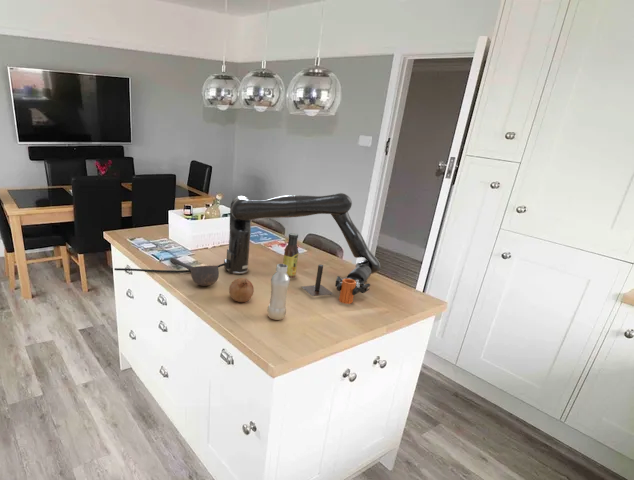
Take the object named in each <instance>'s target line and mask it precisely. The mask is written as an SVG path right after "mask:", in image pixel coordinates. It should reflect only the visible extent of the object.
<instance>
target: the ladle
mask: <svg viewBox="0 0 634 480" xmlns="http://www.w3.org/2000/svg"><path fill="white" fill-rule="evenodd" d="M169 261H170V262H171V263H173V264H174V265H176V266H180V267H182V268H185V269H186V270H190V271H191V272H190V274H191V278H192V281H193V282H194V283H195V284H196V285H198V286H200V287H206V286H211V285H214V284H215V283H217V281H218V279H219V276H220V275H219V274H220V272H219V268H218V265H219V264H218V265H214V264H213V265H198V266H193V265H192V264H191V265H190V264H187V263H185V262H183V261H181V260H180V259H177V258H175V257H170V258H169Z"/></svg>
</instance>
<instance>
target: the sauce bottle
mask: <svg viewBox="0 0 634 480" xmlns="http://www.w3.org/2000/svg"><path fill="white" fill-rule="evenodd" d="M298 238H299V234H298V233H296V232H289V233H288V242H287V245H286V246H285V248H284V254H283V261H282V264H285V265H287V272H286V273H287V274H288V276H289V278H290V279H293V278H295V277H296V275H297V268H298V260H299V254H300V253H299V252H300V251H299V248H298Z"/></svg>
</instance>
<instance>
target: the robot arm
mask: <svg viewBox="0 0 634 480" xmlns="http://www.w3.org/2000/svg"><path fill="white" fill-rule="evenodd" d="M352 206H353V202H352V199H351V197H350V196H349V195H348V194H346V193H343V192H338V193H333V194H328V195H305V194H304V195H302V194H292V195H281V196H276V197H273V198H269V199H265V200H253V199H249V198H248V197H247V196H244V195H238V196H236V197H234V198H233V199H232V200H231V202H230V208H229V235H228V236H229V237H228V248H227V249H226V258H225V259H224V260H223V263H221V264H218V269H219V268H221V267H224V269H225V270H226V271H227V272H228V273H229V275H230V274H232V275H233V274H234V275H244V274H247V273H248V272H249V259H250V258H249V257H250V244H251V232H252V227H251V226H252V225H251V224H252V223H251V222H252V220H257V219H265V218H267V219H269V218H271V219H280V218H281V219H283V218H287V219H289V218H301V217H309V216H314V215H331V217H332V218H333V220H334V221H335V223H336V224H337V226H338V228H339V229H340V231H341V233H342V235H343V237H344V239H345V241H346V243H347V246H348V247H349V249H350V251H351V254H352V256H353V257H354V258H356V259H359V258H364V259H363V260H360V261H358V262H357V263H355V268H354V269H352V270H351V271H350V272H349V273H348V274H347V276H346V277H343V278H342V277H341V276H339V275H338V276H337V277H336V279H335V284H334V286H335V287H336V290H337V292H340V291H341V285H342V280H343V279H353V280H355V281H356V286H355V288H354V289H353V293H352V295H354V296H355V295H357V294H359V293H360V294H365V293H366V292H368V291H370V288H371V283H367V282H368V280H369V278H370V277H371V275H373V274H376V273H378V272H379V271H380V270H381V264H380V261H379V260H378V258H377V257H376V256H375V255H374V254H373V252H372V251H371V250H370V249H369V247H368V245H367V243H366V241H365V239H364V237H363V234H362V233H361V232H360V230H359V229H358V228H357V226H356V225H355V223H354V222H353V220H352V219H351V216H350V214H349V211H350V210H351V208H352ZM114 271H123V272H125V271H127V272H129V271H130V272H148V273H191V271H190V270H188V269H179V270H178V269H176V270H175V269H173V270H171V269H166V270H165V269H147V268H145V269H144V268H125V267H124V268H122V267H118V268H117V267H115V268H114Z"/></svg>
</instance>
